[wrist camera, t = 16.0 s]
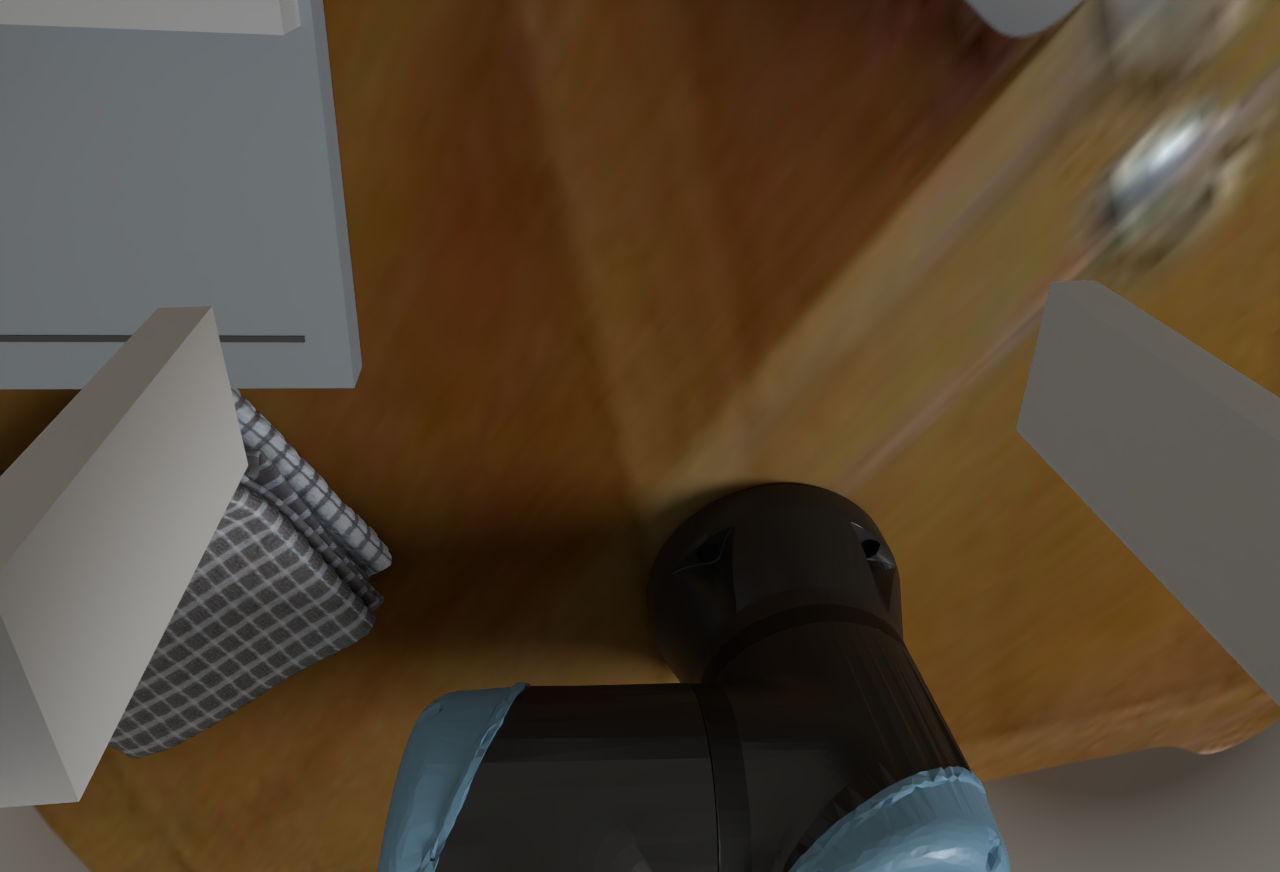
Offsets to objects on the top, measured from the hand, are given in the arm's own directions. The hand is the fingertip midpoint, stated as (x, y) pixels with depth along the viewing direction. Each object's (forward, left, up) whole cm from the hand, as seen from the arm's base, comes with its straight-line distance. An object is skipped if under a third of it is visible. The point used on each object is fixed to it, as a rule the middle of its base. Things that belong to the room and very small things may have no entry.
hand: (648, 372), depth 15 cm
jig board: (-5, +23, -31) cm, 39 cm away
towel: (-25, +21, -31) cm, 45 cm away
